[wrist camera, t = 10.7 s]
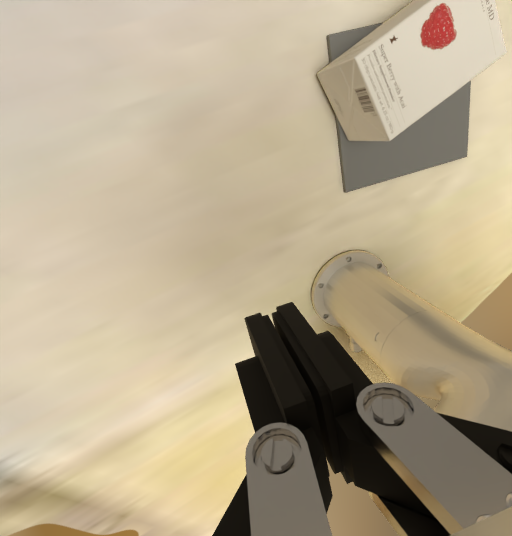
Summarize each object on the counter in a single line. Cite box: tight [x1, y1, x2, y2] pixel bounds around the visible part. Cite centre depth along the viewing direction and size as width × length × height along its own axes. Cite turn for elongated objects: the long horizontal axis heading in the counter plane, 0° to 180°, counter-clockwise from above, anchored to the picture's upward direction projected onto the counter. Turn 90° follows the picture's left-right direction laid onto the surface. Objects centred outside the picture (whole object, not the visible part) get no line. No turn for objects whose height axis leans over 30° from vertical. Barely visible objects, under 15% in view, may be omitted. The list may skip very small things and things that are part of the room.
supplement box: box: [317, 0, 507, 141], centre depth 35 cm, size 9×9×15 cm
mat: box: [327, 23, 471, 192], centre depth 42 cm, size 18×19×1 cm
